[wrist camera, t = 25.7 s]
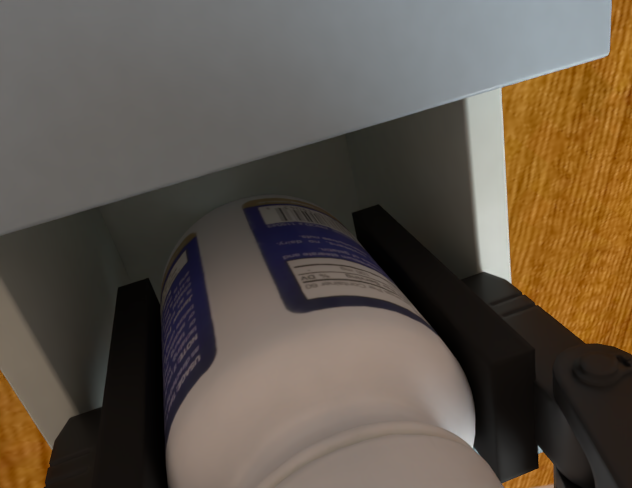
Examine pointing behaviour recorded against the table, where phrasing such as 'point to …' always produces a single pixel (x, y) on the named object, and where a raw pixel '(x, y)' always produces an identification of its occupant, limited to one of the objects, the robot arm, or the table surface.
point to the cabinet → (242, 82)
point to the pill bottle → (303, 362)
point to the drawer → (224, 187)
